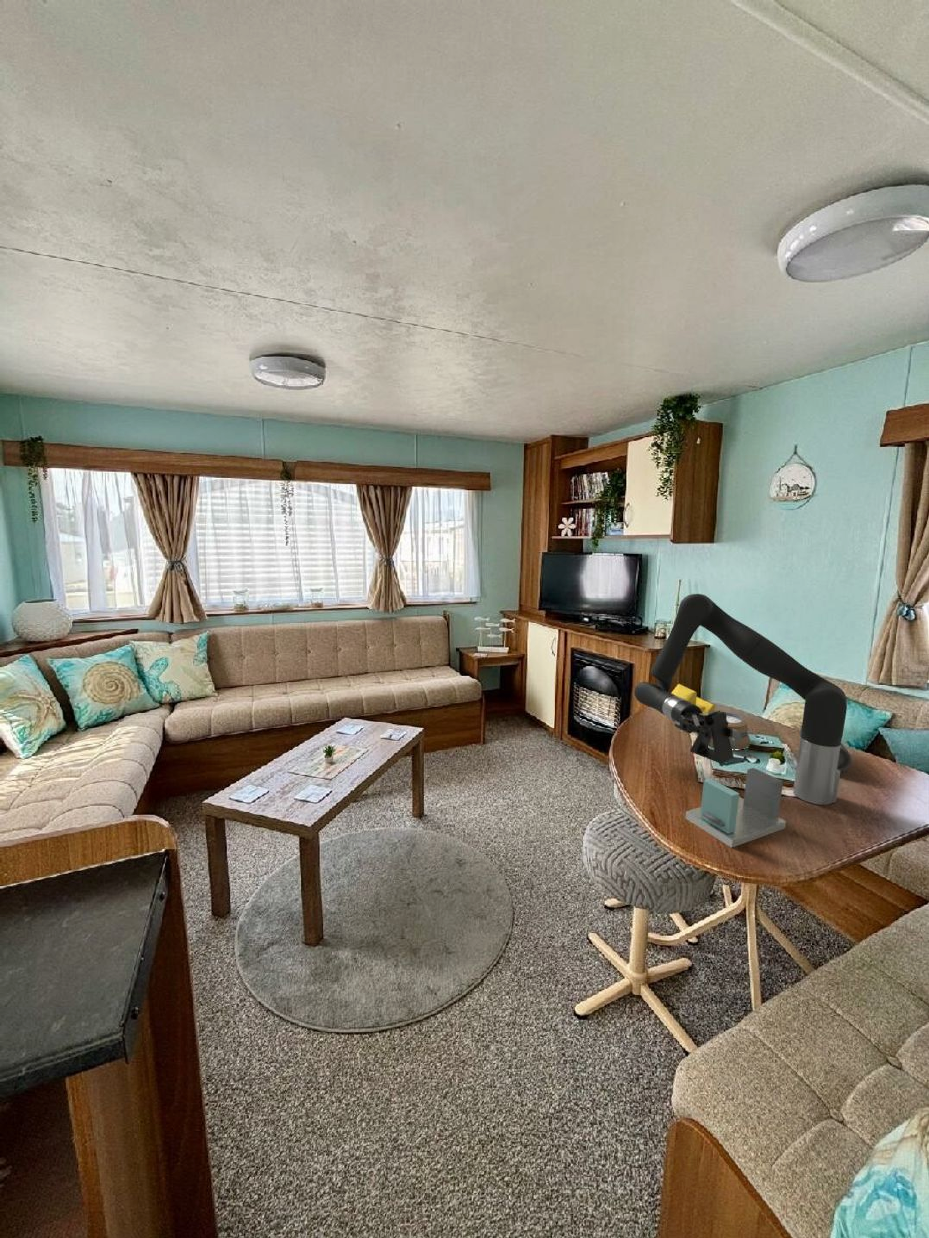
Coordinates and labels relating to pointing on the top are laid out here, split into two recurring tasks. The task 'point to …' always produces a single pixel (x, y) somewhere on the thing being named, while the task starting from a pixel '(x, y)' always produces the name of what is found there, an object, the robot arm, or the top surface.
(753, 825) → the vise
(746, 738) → the alarm clock
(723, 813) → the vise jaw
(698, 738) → the phone stand
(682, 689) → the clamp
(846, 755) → the bluetooth speaker
